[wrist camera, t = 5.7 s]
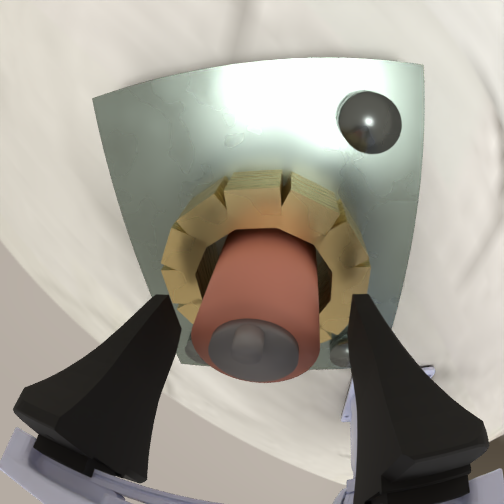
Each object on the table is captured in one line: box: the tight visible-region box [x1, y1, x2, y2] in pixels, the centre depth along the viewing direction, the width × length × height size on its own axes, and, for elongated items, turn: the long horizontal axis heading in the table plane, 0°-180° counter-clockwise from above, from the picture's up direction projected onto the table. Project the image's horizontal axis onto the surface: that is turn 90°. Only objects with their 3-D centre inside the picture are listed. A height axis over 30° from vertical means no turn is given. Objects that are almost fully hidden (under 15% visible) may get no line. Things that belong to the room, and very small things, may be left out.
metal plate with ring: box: [92, 58, 424, 370], centre depth 15 cm, size 18×14×5 cm
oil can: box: [191, 228, 320, 383], centre depth 12 cm, size 4×4×8 cm
